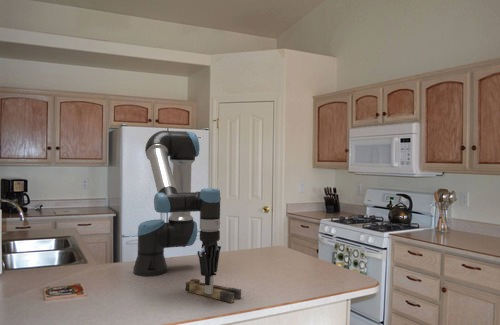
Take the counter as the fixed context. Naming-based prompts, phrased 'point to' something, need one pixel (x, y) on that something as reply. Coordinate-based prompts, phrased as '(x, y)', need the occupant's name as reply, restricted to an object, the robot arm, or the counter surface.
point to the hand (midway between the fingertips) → (208, 293)
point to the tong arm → (216, 294)
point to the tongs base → (236, 291)
